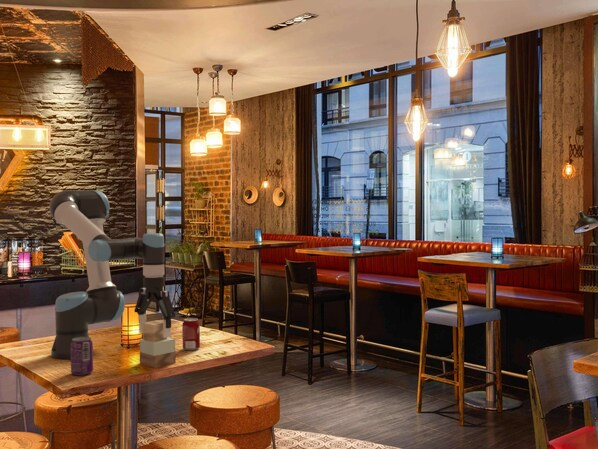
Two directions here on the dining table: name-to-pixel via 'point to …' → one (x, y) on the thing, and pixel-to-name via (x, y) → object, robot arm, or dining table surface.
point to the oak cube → (153, 331)
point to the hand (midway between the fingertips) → (154, 334)
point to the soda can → (191, 334)
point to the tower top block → (157, 346)
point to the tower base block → (157, 359)
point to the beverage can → (81, 356)
